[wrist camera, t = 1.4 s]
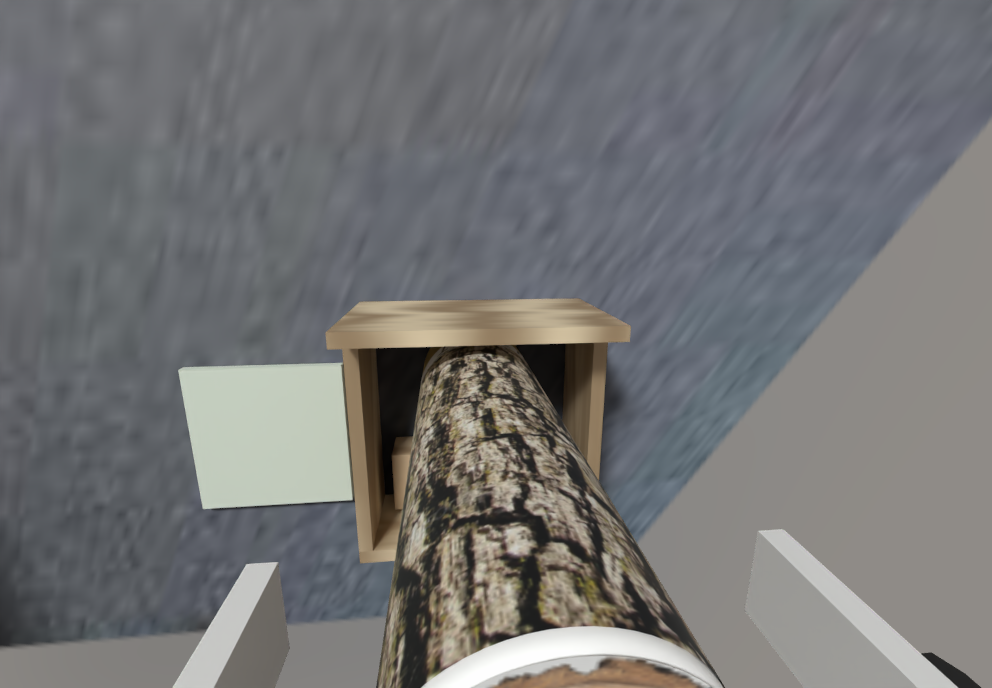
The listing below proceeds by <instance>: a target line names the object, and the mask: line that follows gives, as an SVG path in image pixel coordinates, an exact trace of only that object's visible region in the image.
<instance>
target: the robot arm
mask: <svg viewBox="0 0 992 688" xmlns="http://www.w3.org/2000/svg"><path fill="white" fill-rule="evenodd" d="M745 612H746V613H747V614H748V615H749V617H750V618H751V619H752V621H753V622H754V623H755V625H756V626H757V627H758V629H759V630H760V631H761V632H762V634H763V635H764V636H765V638H766V639H767V640H768V642H769V643H770V644H771V645H772V647H773V648H774V649H775V651H776V652H777V653H778V654H779V656H780V657H781V658H782V660H783V661H784V662H785V664H786V665H787V666H788V668H789V669H790V670H791V671H792V673H793V674H794V675H795V677H796V678H797V679H798V680H799V682H800V683H801V684H802V686H803V687H804V688H981V687H980V686H979V685H978V684H976V683H975V682H974V681H973V680H972V679H970V678H969V677H968V676H967V675H966V674H965V673H963V672H961V671H960V670H958V669H957V668H955V667H954V666H952V665H950V664H949V663H947V662H945V661H944V660H942V659H941V658H939V657H938V656H936V655H934V654H933V653H922V654H921V653H919V652H918V651H917V650H916V649H915V648H914V647H913V646H911V645H910V644H909V643H908V642H907V641H906V640H905V639H904V638H903V637H902V636H901V635H899V634H898V633H897V632H896V631H895V630H894V629H893V628H892V627H890V625H888V624H887V623H886V622H885V621H884V620H883V619H882V618H881V617H880V616H879V615H877V614H876V613H875V612H874V611H873V610H872V609H871V608H869V606H867V605H866V604H865V603H864V602H863V601H862V600H861V599H860V598H859V597H858V596H856V595H855V594H854V593H853V592H852V591H851V590H850V589H849V588H848V587H846V586H845V585H844V584H843V583H842V582H841V581H840V580H839V579H838V578H836V577H835V576H834V575H833V574H832V573H831V572H830V571H829V570H828V569H827V568H825V567H824V566H823V565H822V564H821V563H820V562H819V561H818V560H817V559H816V558H814V557H813V556H812V555H811V554H810V553H809V552H808V551H807V550H806V549H804V548H803V547H802V546H801V545H800V544H799V543H798V542H797V541H796V540H795V539H793V538H792V537H791V536H790V535H789V534H788V533H787V532H786V531H785V530H783V529H782V530H766V531H758V535H757V541H756V547H755V553H754V559H753V565H752V571H751V577H750V583H749V589H748V596H747V601H746V607H745ZM289 649H290V647H289V640H288V632H287V625H286V618H285V610H284V603H283V596H282V588H281V581H280V574H279V566H278V562H273V563H258V564H247V565H246V566H245V568H244V570H243V571H242V573H241V575H240V576H239V578H238V580H237V581H236V583H235V585H234V586H233V588H232V590H231V591H230V593H229V595H228V596H227V598H226V600H225V601H224V603H223V604H222V606H221V608H220V609H219V611H218V613H217V614H216V616H215V618H214V619H213V621H212V623H211V624H210V626H209V628H208V629H207V631H206V633H205V634H204V636H203V638H202V639H201V641H200V643H199V644H198V646H197V648H196V649H195V651H194V653H193V655H192V656H191V658H190V659H189V661H188V663H187V664H186V666H185V668H184V670H183V671H182V673H181V674H180V676H179V678H178V680H177V681H176V683H175V684H174V686H173V688H275V686H276V683H277V680H278V678H279V675H280V672H281V670H282V667H283V665H284V662H285V659H286V657H287V654H288V651H289Z"/></svg>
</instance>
